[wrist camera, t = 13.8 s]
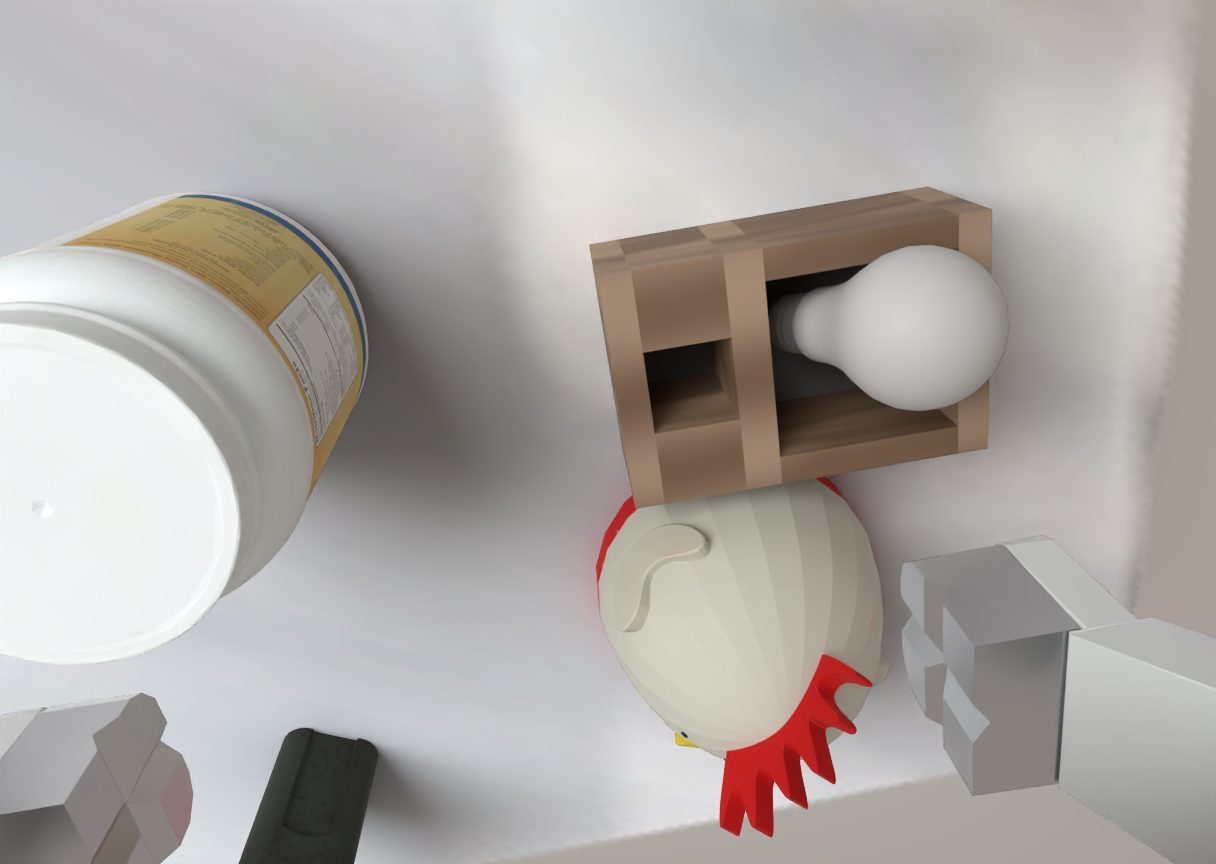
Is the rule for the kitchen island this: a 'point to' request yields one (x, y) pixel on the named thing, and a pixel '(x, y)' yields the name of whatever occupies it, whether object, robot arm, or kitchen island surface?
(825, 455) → the socket block
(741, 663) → the kitchen timer
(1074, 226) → the kitchen island surface
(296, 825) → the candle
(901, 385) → the lightbulb
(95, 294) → the supplement tub
